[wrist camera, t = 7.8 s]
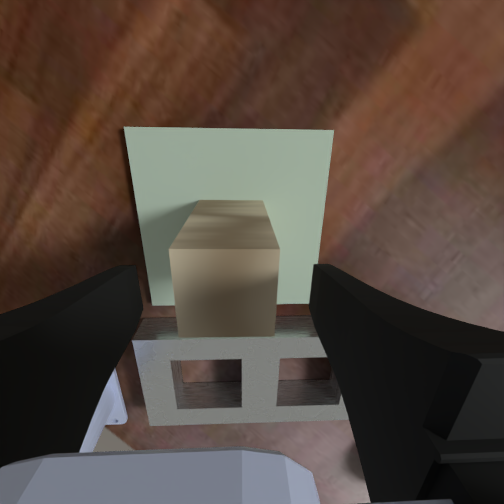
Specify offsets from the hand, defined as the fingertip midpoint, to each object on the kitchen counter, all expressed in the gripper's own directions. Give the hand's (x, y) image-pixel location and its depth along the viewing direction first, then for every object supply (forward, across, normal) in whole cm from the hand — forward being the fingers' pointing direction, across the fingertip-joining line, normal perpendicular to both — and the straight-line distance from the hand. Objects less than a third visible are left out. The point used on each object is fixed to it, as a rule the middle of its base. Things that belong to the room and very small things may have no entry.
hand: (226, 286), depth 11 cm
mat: (+8, 0, 0) cm, 8 cm away
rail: (+8, -2, +12) cm, 14 cm away
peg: (+7, 0, 0) cm, 7 cm away
